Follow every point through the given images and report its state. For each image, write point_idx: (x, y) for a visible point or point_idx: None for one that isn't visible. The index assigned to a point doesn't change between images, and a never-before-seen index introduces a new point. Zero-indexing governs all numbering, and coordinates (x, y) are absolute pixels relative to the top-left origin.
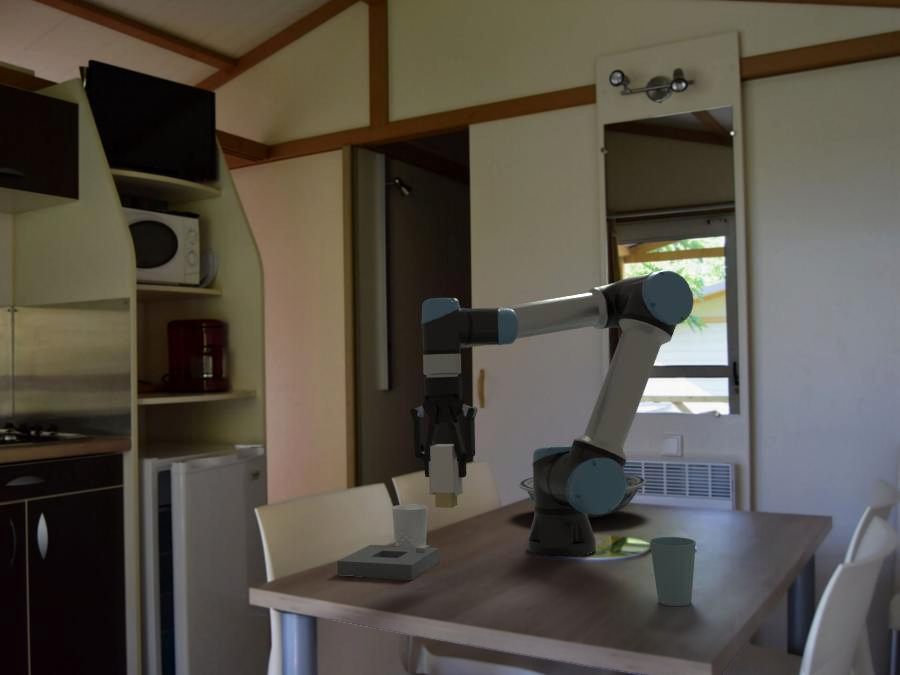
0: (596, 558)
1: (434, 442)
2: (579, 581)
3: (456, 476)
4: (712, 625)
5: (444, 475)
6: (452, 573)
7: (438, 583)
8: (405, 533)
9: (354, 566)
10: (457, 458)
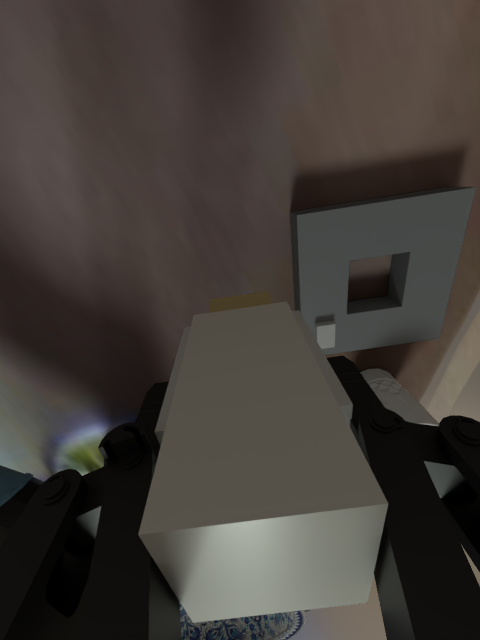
0: (90, 432)
1: (387, 601)
2: (20, 314)
3: (178, 370)
4: None
5: (229, 349)
6: (241, 287)
7: (231, 211)
8: (387, 390)
9: (426, 193)
10: (150, 455)
